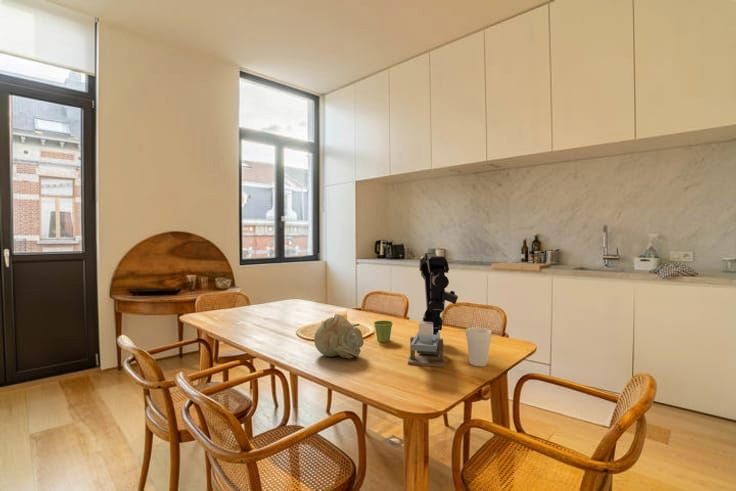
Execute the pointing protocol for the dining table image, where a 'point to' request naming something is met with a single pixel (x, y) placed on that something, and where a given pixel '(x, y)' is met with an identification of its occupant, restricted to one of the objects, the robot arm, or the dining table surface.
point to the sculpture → (338, 338)
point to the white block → (426, 332)
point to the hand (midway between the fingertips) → (437, 322)
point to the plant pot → (383, 330)
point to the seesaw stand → (427, 357)
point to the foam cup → (478, 345)
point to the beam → (426, 345)
